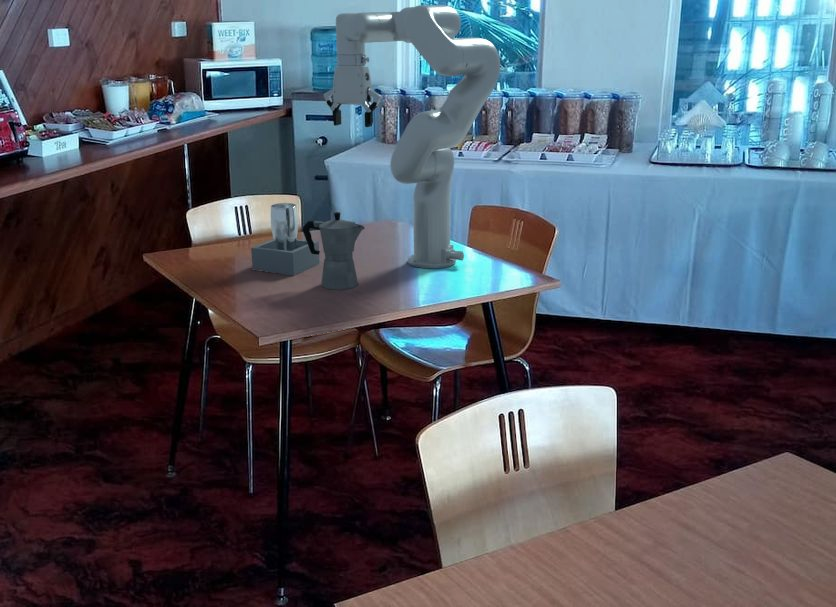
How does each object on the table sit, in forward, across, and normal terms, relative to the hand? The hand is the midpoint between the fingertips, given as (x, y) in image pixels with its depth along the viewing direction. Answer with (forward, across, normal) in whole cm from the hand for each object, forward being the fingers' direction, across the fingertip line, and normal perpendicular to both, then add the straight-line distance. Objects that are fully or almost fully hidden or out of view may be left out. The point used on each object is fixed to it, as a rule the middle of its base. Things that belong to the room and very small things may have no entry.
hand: (353, 125), depth 251 cm
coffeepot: (+34, -14, +38) cm, 52 cm away
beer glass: (+32, +5, +29) cm, 44 cm away
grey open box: (+33, +5, +29) cm, 44 cm away
